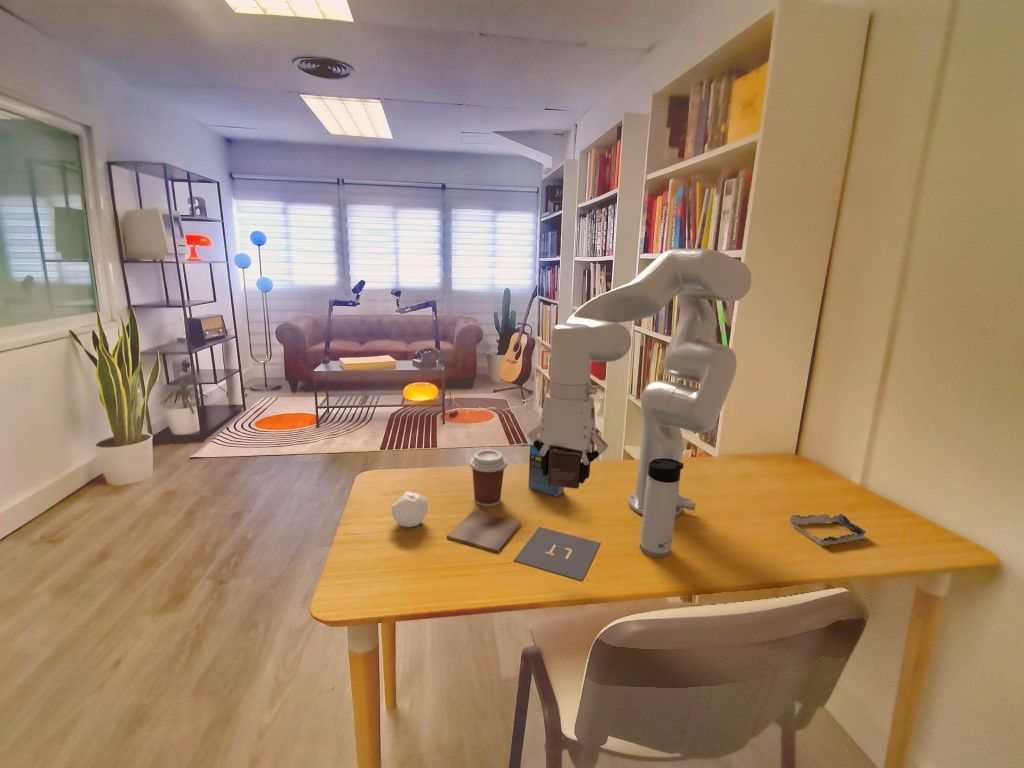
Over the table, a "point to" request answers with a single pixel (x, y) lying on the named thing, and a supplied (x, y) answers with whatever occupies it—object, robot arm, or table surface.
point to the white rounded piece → (410, 509)
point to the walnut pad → (484, 531)
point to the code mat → (558, 553)
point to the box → (564, 467)
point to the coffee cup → (487, 476)
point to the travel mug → (660, 507)
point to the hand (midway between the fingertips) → (564, 476)
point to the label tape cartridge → (540, 475)
